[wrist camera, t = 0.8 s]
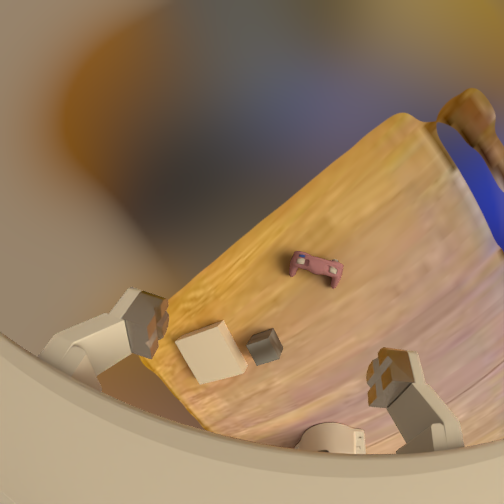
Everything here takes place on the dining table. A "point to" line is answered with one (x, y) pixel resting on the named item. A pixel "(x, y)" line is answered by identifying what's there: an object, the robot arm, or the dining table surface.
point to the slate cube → (265, 347)
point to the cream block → (212, 353)
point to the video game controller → (316, 266)
